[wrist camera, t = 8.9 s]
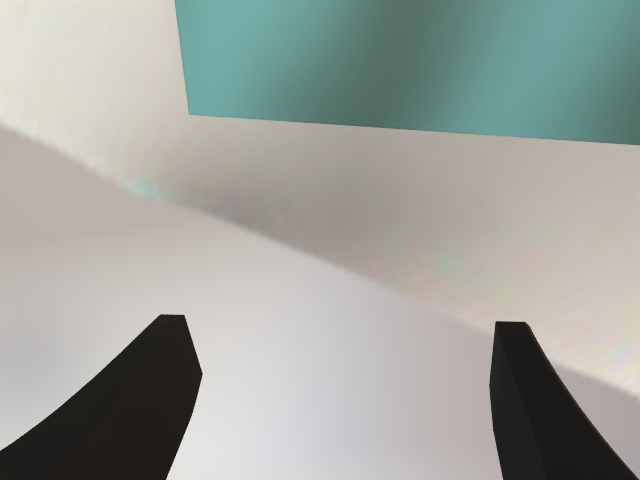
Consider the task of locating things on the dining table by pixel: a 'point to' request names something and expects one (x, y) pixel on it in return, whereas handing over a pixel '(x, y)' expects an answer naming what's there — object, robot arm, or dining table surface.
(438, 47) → the socket board
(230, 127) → the dining table surface
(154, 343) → the robot arm
